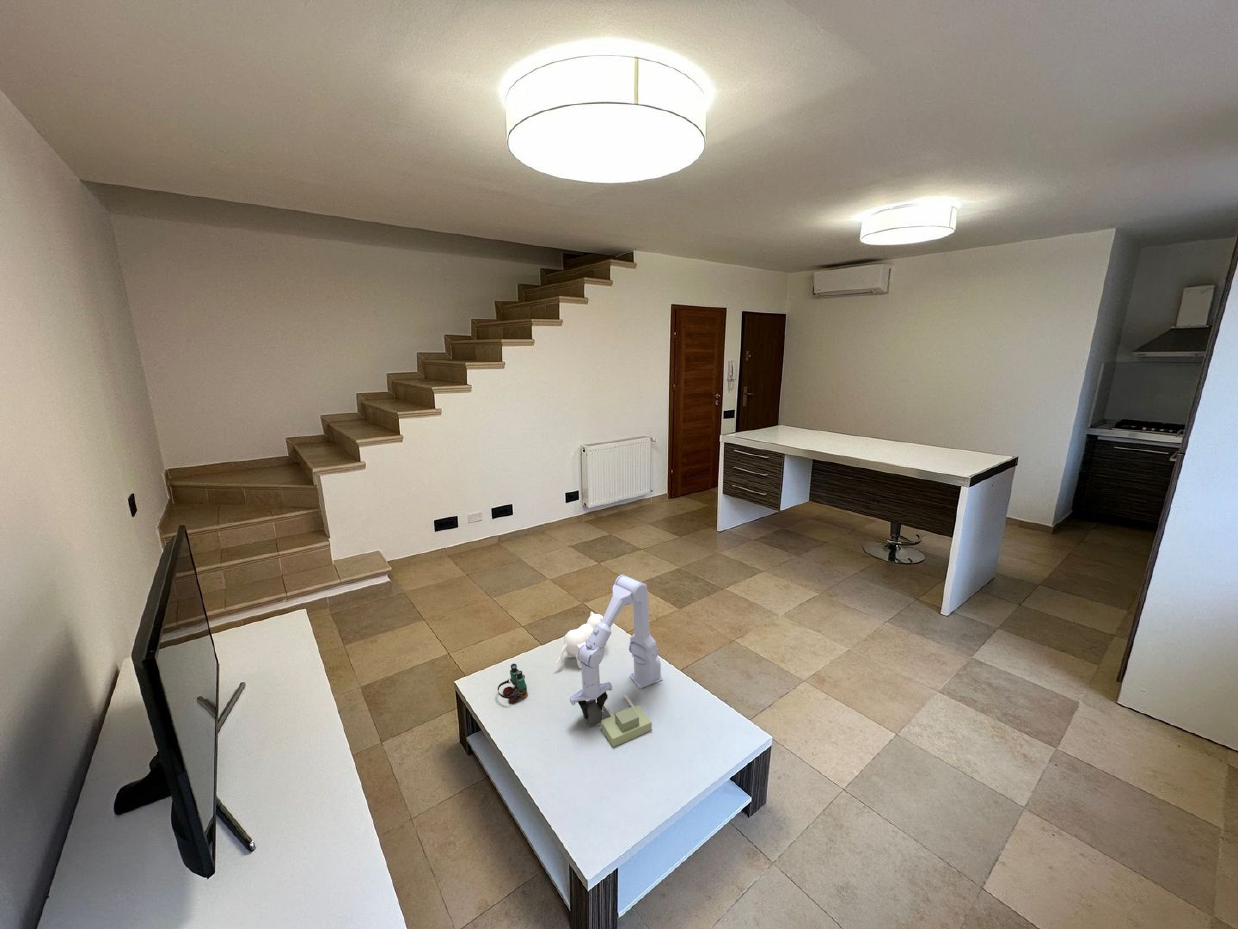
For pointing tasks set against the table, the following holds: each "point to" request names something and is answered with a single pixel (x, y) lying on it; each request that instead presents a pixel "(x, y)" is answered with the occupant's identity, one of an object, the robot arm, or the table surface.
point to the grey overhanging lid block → (594, 713)
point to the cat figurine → (579, 637)
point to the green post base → (625, 723)
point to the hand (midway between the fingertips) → (592, 714)
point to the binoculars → (515, 685)
